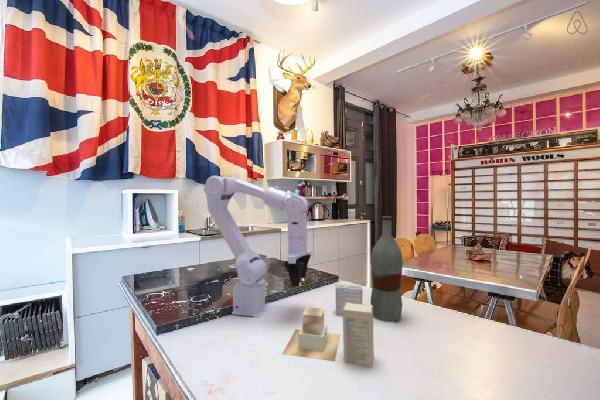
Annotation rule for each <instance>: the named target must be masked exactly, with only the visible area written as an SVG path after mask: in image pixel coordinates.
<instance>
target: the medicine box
mask: <svg viewBox="0 0 600 400" xmlns="http://www.w3.org/2000/svg"><path fill="white" fill-rule="evenodd" d="M363 291H364V290H363V288H362V285H361V284H353V283H352V284H351V283H336V284H335V316H342V317H343V308H344V306H345V304H346V303H355V304H363Z"/></svg>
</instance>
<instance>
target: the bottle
mask: <svg viewBox="0 0 600 400" xmlns="http://www.w3.org/2000/svg"><path fill="white" fill-rule="evenodd" d="M392 218H393V217H392V216H389V215H385V216H384V215H383V216H382V229H381V230H382V232H381V233H382V234H381V236H380V237H379V239H378V240H377V241H376V243H375V244H374V246H373V248H372V251H371V256H370V257H371V258H370V266H371V278H372V280H371V282H372V288H371V295H370V305H373V318H375V319H377V320H379V321H383V322H394V323H396V322H398V321H400V319H401V315H402V311H403V300H402V299H403V298H402V291H401V285H402V284H401V283H402V273H403V265H404V262H403V261H404V260H403V254H402V253H403V252H402V249H401V248H400V246H399V245H398V242H396V240H395V238H394V236H393V235H392Z"/></svg>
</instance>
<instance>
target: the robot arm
mask: <svg viewBox="0 0 600 400" xmlns="http://www.w3.org/2000/svg"><path fill="white" fill-rule="evenodd" d="M203 192H204V193H205V195H206V204H207V210H208V213H209V214H210V216H211V217H212V220H213V221H214V223H215V224H216V226H217V229H218V230H219V231H220V234H221V235H222V237H223V238H224V241H225V242H226V244H227V245H228V248H229V249H230V251H231V252H232V255H233V256H234V258H235V264H234V268H235V270H236V271H237V278H238V281H236V283H235V284H234V287H233V291H232V312H231V314H232V315H238V316H244V317H245V316H247V317H259V318H260V317H262V316H263V315H264V314H265V312H266V311H267V310H269V308H270V304H268V305H267V304H266V280H265V276H266V275H267V273H268V269H269V268H268V264H267V262H266V261H265V260H264V259H262V258H261V257H260V256H259V253H258V252H256V251H254V250H252V248H251V247H250V245H249V243H248V241H247V239H246V238H245V236H244V235H243V233H242V231H241V229H240V228H239V227H238V224H237V222H236V221H235V219H234V217H233V215H232V214H231V212H230V211H229V209H228V207H229V206H228V205H229V203H230V201H231V199H232V198H233V197H234V195H235V193H243V194H246V195H249V196H252V197H255V198H259V199H261V200H262V201H263V203H264V205H265V206H268V207H271V208H273V209H276V210H279V211H281V212H285V213H286V214H287V241H288V242H287V247H288V248H287V249H288V251H287V255H288V256H287V260H285V261H284V262H283V266H284V268H285V269H286V271H287V273H288V277H289V281H290V284H291V287H299V286H300V283H301V279H305V278H306V275H307V269H308V264H309V262H310V259H311V257H312V250H308V220H307V211H308V209H309V203H308V200H307V199H306V198H305V197H303V196H302V195H299V194H298V195H295V193H294V192H292V191H291V192H287V191H285V190H281V189H280V187H279V186H274V187H273V186H270V187H268V188H264V187H261V186H259V185H256V184H253V183H251V182H249V181H247V180H243V179H240V178H234V177H232V176H219V175H211V176H209V177H208V178H207V180H206V182H205V185H204V188H203ZM236 306H238V308H237V307H236Z"/></svg>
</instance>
